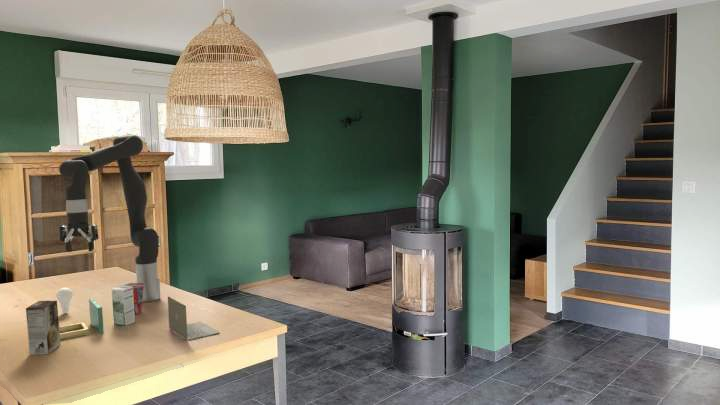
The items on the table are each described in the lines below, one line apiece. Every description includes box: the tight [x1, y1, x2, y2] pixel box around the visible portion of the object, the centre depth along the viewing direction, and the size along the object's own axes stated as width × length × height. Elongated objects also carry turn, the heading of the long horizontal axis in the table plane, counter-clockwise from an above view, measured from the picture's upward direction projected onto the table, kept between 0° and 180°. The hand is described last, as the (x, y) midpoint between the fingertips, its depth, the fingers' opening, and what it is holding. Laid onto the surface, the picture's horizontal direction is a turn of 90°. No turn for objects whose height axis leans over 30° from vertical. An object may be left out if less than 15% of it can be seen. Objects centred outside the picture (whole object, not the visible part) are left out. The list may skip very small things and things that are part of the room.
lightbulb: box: [55, 287, 74, 314], centre depth 231 cm, size 6×6×11 cm
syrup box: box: [111, 285, 136, 327], centre depth 214 cm, size 6×6×14 cm
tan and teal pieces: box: [59, 298, 104, 341], centre depth 205 cm, size 15×16×10 cm
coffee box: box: [25, 300, 61, 356], centre depth 186 cm, size 9×6×16 cm
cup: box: [122, 282, 144, 315], centre depth 229 cm, size 9×8×12 cm
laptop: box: [167, 296, 220, 342], centre depth 203 cm, size 18×12×13 cm
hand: (80, 251), depth 217 cm, fingers open, 8 cm apart
